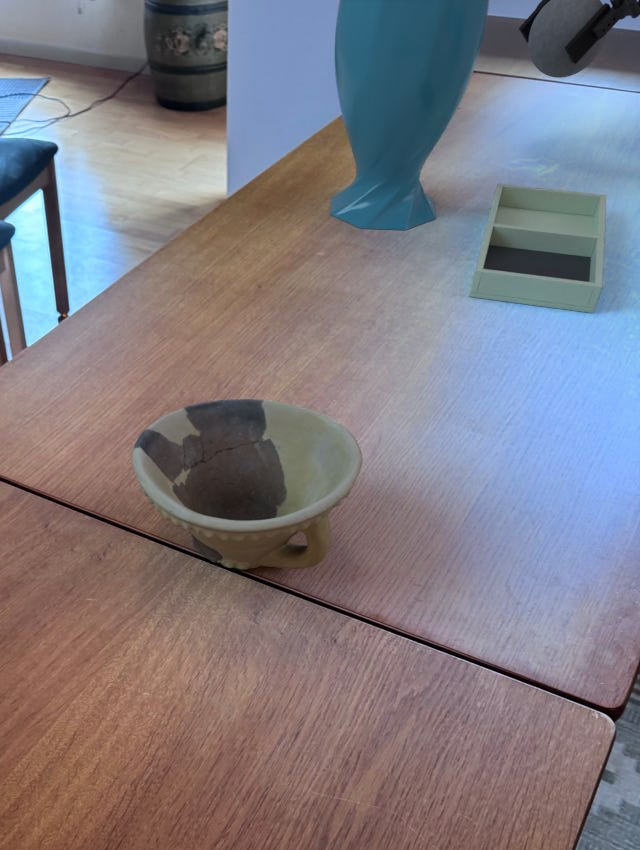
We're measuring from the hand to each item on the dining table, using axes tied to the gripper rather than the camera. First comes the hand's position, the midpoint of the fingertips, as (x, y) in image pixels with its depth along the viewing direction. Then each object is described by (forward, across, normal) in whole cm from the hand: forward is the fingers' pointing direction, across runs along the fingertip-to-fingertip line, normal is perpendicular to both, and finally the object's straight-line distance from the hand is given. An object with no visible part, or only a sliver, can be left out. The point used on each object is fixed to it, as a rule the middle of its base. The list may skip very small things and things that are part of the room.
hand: (546, 45), depth 125 cm
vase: (+30, -10, +10) cm, 33 cm away
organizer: (+22, -30, +2) cm, 37 cm away
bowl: (+61, -68, +40) cm, 100 cm away
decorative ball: (+1, 0, -5) cm, 5 cm away
